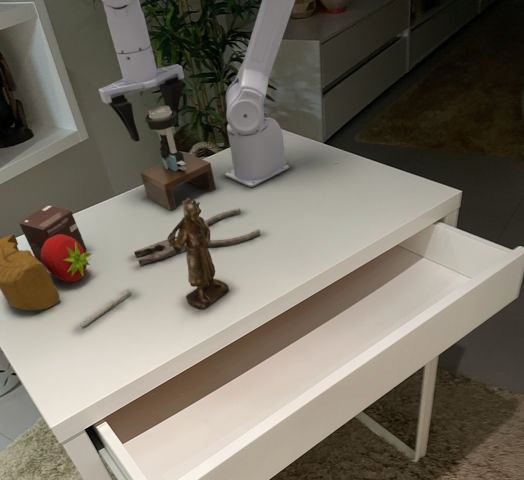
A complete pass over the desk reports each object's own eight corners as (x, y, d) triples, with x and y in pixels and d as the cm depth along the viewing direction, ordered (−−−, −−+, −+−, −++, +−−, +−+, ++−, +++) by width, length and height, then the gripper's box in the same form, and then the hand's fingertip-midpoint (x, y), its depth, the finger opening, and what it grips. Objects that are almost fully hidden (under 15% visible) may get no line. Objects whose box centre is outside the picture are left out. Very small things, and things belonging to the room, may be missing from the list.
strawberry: (44, 224, 86) (87, 226, 81) (68, 265, 91) (110, 269, 86) (16, 246, 83) (59, 249, 78) (42, 287, 88) (84, 293, 82)
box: (61, 270, 89) (42, 229, 84) (36, 262, 92) (17, 222, 87) (88, 250, 92) (72, 210, 88) (63, 243, 95) (46, 204, 90)
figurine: (194, 317, 76) (167, 218, 66) (175, 307, 78) (147, 210, 68) (232, 289, 79) (212, 191, 69) (214, 280, 81) (192, 184, 71)
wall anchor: (126, 292, 82) (131, 296, 81) (79, 326, 77) (84, 330, 77) (126, 288, 81) (131, 292, 81) (78, 322, 77) (83, 326, 76)
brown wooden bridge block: (191, 177, 108) (185, 152, 104) (215, 188, 103) (210, 162, 99) (147, 197, 104) (140, 172, 100) (170, 211, 99) (163, 184, 95)
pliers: (268, 225, 89) (158, 278, 82) (269, 230, 89) (159, 283, 82) (235, 205, 95) (130, 252, 88) (236, 209, 96) (131, 257, 89)
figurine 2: (32, 265, 92) (63, 301, 82) (-7, 283, 90) (20, 322, 80) (13, 227, 88) (43, 260, 78) (-28, 245, 86) (-3, 281, 75)
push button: (197, 166, 99) (185, 109, 92) (172, 178, 97) (157, 120, 90) (177, 157, 103) (164, 101, 96) (153, 168, 101) (137, 111, 94)
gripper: (100, 65, 85) (126, 152, 94) (184, 39, 89) (201, 125, 99) (84, 57, 89) (111, 141, 98) (165, 33, 94) (183, 115, 103)
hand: (155, 132), depth 99 cm, fingers open, 7 cm apart
